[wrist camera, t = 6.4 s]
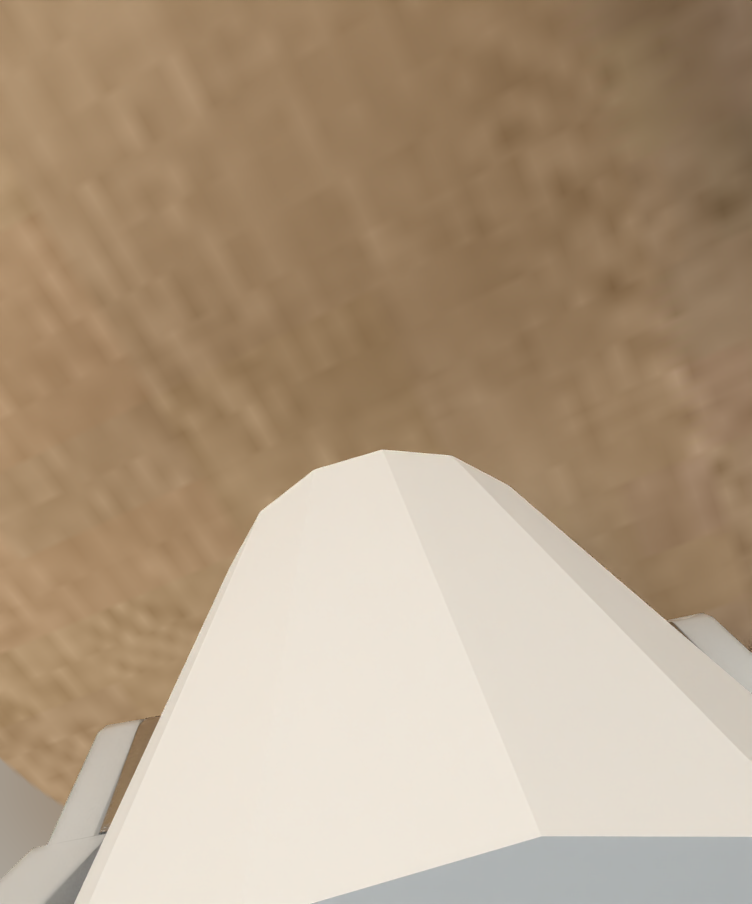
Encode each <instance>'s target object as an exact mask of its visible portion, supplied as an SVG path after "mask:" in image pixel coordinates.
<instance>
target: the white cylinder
mask: <svg viewBox="0 0 752 904" xmlns="http://www.w3.org/2000/svg"><path fill="white" fill-rule="evenodd" d="M74 904H752V694H751V693H750V692H749V691H748V690H747V689H745V688H744V687H743V686H742V685H741V684H740V683H738V682H737V681H736V680H735V679H734V678H733V677H731V676H730V675H729V674H728V673H727V672H726V671H724V670H723V669H722V668H721V667H720V666H719V665H717V664H716V663H715V662H714V661H713V660H712V659H710V658H709V657H708V656H707V655H706V654H705V653H703V652H702V651H701V650H700V649H699V648H698V647H696V646H695V645H694V644H693V643H692V642H691V641H689V640H688V639H687V638H686V637H685V636H684V635H682V634H681V633H680V632H679V631H678V630H677V629H675V628H674V627H673V626H672V625H671V624H670V623H668V622H667V621H666V620H665V619H664V618H663V617H661V616H660V615H659V614H658V613H657V612H656V611H654V610H653V609H652V608H651V607H650V606H649V605H647V604H646V603H645V602H644V601H643V600H642V599H640V598H639V597H638V596H637V595H636V594H635V593H633V592H632V591H631V590H630V589H629V588H628V587H626V586H625V585H624V584H623V583H622V582H621V581H619V580H618V579H617V578H616V577H615V576H614V575H613V574H611V573H610V572H609V571H608V570H607V569H606V568H604V567H603V566H602V565H601V564H600V563H599V562H597V561H596V560H595V559H594V558H593V557H592V556H590V555H589V554H588V553H587V552H586V551H585V550H583V549H582V548H581V547H580V546H579V545H578V544H576V543H575V542H574V541H573V540H572V539H571V538H569V537H568V536H567V535H566V534H565V533H564V532H562V531H561V530H560V529H559V528H558V527H557V526H555V525H554V524H553V523H552V522H551V521H550V520H548V519H547V518H546V517H545V516H544V515H543V514H541V513H540V512H539V511H538V510H537V509H536V508H534V507H533V506H532V505H531V504H530V503H529V502H527V501H526V500H525V499H524V498H523V497H522V496H520V495H519V494H518V493H517V492H516V491H515V490H513V489H512V488H511V487H510V486H509V485H507V484H505V483H503V482H501V481H499V480H497V479H496V478H494V477H492V476H490V475H488V474H486V473H484V472H482V471H480V470H478V469H476V468H474V467H473V466H471V465H469V464H467V463H465V462H463V461H461V460H459V459H457V458H455V457H453V456H451V455H440V454H428V453H417V452H405V451H393V450H379V451H376V452H372V453H369V454H366V455H362V456H359V457H355V458H352V459H349V460H345V461H342V462H338V463H335V464H331V465H328V466H325V467H321V468H318V469H314V470H313V471H312V472H310V473H309V474H308V475H307V476H305V477H304V478H303V479H301V480H300V481H299V482H298V483H296V484H295V485H294V486H292V487H291V488H290V489H289V490H287V491H286V492H285V493H284V494H282V495H281V496H280V497H278V498H277V499H276V500H275V501H273V502H272V503H271V504H269V505H268V506H267V507H266V508H264V509H263V510H262V511H260V513H259V515H258V517H257V518H256V520H255V522H254V524H253V526H252V528H251V529H250V531H249V533H248V535H247V537H246V539H245V540H244V542H243V544H242V546H241V548H240V550H239V551H238V553H237V555H236V557H235V559H234V561H233V562H232V564H231V566H230V568H229V570H228V572H227V574H226V577H225V579H224V581H223V583H222V585H221V587H220V590H219V592H218V594H217V596H216V598H215V600H214V602H213V605H212V607H211V609H210V611H209V613H208V615H207V618H206V620H205V622H204V624H203V626H202V628H201V631H200V633H199V635H198V637H197V639H196V641H195V643H194V646H193V648H192V650H191V652H190V654H189V656H188V659H187V661H186V663H185V665H184V667H183V669H182V672H181V674H180V676H179V678H178V680H177V682H176V684H175V687H174V689H173V691H172V693H171V695H170V697H169V700H168V702H167V704H166V706H165V708H164V710H163V713H162V715H161V717H160V719H159V721H158V723H157V725H156V728H155V730H154V732H153V734H152V736H151V738H150V741H149V743H148V745H147V747H146V749H145V751H144V754H143V756H142V758H141V760H140V762H139V764H138V766H137V769H136V771H135V773H134V775H133V777H132V779H131V782H130V784H129V786H128V788H127V790H126V792H125V795H124V797H123V799H122V801H121V803H120V805H119V808H118V810H117V812H116V814H115V816H114V818H113V820H112V823H111V825H110V827H109V829H108V831H107V833H106V836H105V838H104V840H103V842H102V844H101V846H100V849H99V851H98V853H97V855H96V857H95V859H94V861H93V864H92V866H91V868H90V870H89V872H88V874H87V877H86V879H85V881H84V883H83V885H82V887H81V890H80V892H79V894H78V896H77V898H76V900H75V902H74Z"/></svg>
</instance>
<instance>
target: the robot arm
mask: <svg viewBox="0 0 752 904" xmlns="http://www.w3.org/2000/svg"><path fill="white" fill-rule="evenodd" d="M666 621H667V622H668V623H670V624H671V625H672V626H673V627H674V628H675V629H677V630H678V631H679V632H680V633H681V634H682V635H684V636H685V637H686V638H687V639H688V640H689V641H691V642H692V643H693V644H694V645H695V646H696V647H698V648H699V649H700V650H701V651H702V652H703V653H705V654H706V655H707V656H708V657H709V658H710V659H712V660H713V661H714V662H715V663H716V664H717V665H719V666H720V667H721V668H722V669H723V670H724V671H726V672H727V673H728V674H729V675H730V676H731V677H733V678H734V679H735V680H736V681H737V682H738V683H740V684H741V685H742V686H743V687H744V688H745V689H747V690H748V691H749V692H750V693H751V694H752V653H751V652H750V651H749V650H748V649H747V648H746V647H745V646H743V645H742V644H741V643H740V642H739V641H738V640H737V639H736V638H735V637H734V636H733V635H732V634H730V633H729V632H728V631H727V630H726V629H725V628H724V627H723V626H722V625H721V624H720V623H718V622H717V621H716V620H715V619H714V618H713V617H712V616H709V615H707V614H704V613H699V614H694V615H690V616H685V617H680V618H676V619H671V620H666ZM160 717H161V716H155V717H149V718H146V719H141V720H135V721H129V722H123V723H117V724H111V725H106V726H105V727H104V728H103V729H102V730H101V731H100V732H98V734H97V735H96V738H95V740H94V742H93V744H92V746H91V749H90V751H89V753H88V755H87V757H86V760H85V762H84V764H83V766H82V768H81V771H80V773H79V775H78V777H77V779H76V782H75V784H74V786H73V788H72V790H71V793H70V795H69V797H68V799H67V801H66V804H65V806H64V808H63V810H62V813H61V815H60V817H59V819H58V821H57V823H56V826H55V828H54V830H53V832H52V834H51V837H50V839H49V841H48V843H47V845H45V846H40V847H35V848H33V849H32V850H31V851H29V852H28V853H27V854H26V855H25V856H24V857H23V858H22V859H21V860H20V861H19V862H18V863H17V864H16V865H15V866H14V867H12V868H11V869H10V870H9V871H8V872H7V873H6V874H5V875H4V876H3V877H2V878H1V879H0V904H74V902H75V900H76V898H77V896H78V894H79V892H80V890H81V887H82V885H83V883H84V881H85V879H86V877H87V874H88V872H89V870H90V868H91V866H92V864H93V861H94V859H95V857H96V855H97V853H98V851H99V849H100V846H101V844H102V842H103V840H104V838H105V836H106V833H107V831H108V829H109V827H110V825H111V823H112V820H113V818H114V816H115V814H116V812H117V810H118V808H119V805H120V803H121V801H122V799H123V797H124V795H125V792H126V790H127V788H128V786H129V784H130V782H131V779H132V777H133V775H134V773H135V771H136V769H137V766H138V764H139V762H140V760H141V758H142V756H143V754H144V751H145V749H146V747H147V745H148V743H149V741H150V738H151V736H152V734H153V732H154V730H155V728H156V725H157V723H158V721H159V719H160Z"/></svg>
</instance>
